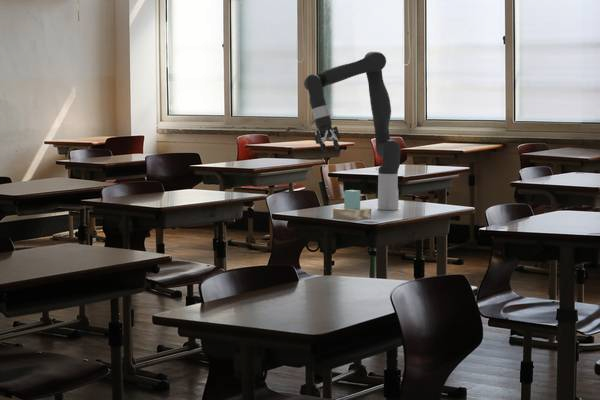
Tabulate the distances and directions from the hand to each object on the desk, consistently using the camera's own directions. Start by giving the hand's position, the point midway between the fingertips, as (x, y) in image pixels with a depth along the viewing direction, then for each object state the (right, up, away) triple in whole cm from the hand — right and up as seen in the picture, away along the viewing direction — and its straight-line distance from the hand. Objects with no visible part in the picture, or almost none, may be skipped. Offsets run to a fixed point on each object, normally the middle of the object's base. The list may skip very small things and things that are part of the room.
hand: (331, 150), depth 465 cm
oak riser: (+9, -31, -22) cm, 39 cm away
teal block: (+9, -27, -22) cm, 36 cm away
